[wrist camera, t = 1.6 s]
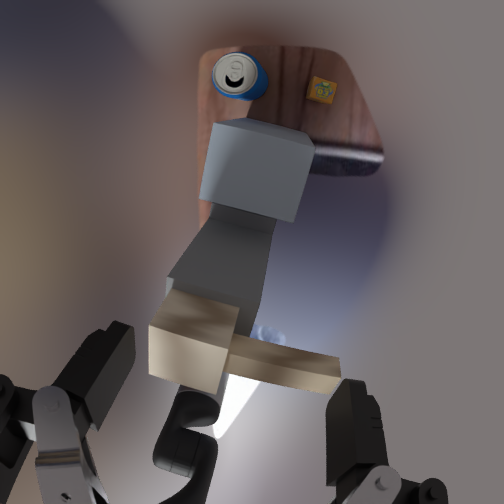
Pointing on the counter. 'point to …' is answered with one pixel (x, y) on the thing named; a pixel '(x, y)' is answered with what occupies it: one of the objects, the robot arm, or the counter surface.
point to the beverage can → (239, 76)
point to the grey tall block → (257, 167)
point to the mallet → (226, 350)
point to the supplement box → (321, 90)
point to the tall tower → (227, 262)
